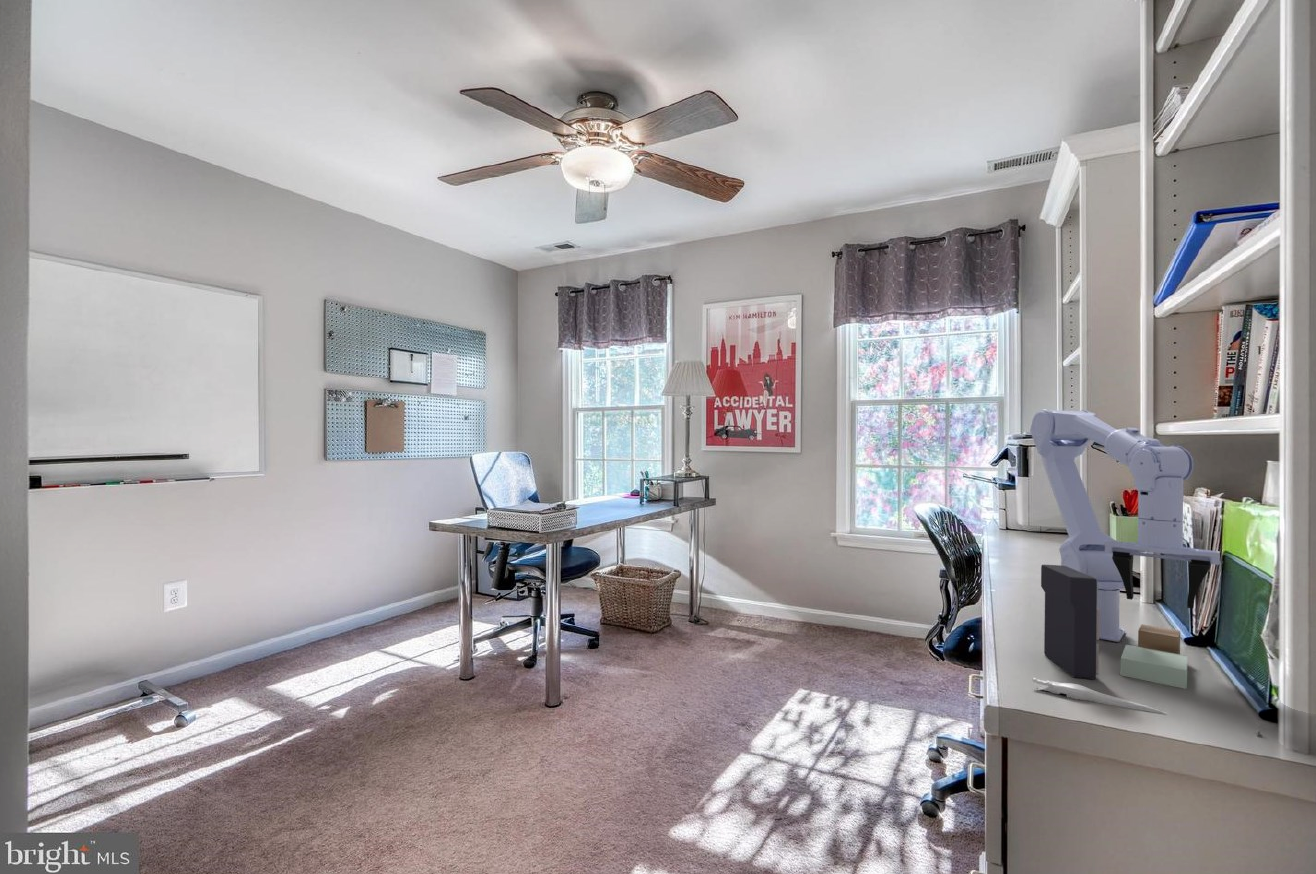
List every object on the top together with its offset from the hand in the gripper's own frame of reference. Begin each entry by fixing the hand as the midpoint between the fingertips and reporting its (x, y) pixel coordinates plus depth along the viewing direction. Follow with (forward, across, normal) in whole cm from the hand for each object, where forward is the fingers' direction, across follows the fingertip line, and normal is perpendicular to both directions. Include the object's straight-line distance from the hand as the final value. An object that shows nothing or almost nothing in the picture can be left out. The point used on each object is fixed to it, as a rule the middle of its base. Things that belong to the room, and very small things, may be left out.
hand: (1159, 602), depth 101 cm
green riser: (+10, 0, -8) cm, 13 cm away
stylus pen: (+10, -5, -28) cm, 30 cm away
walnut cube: (+10, 0, 0) cm, 10 cm away
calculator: (+10, -10, -15) cm, 20 cm away
